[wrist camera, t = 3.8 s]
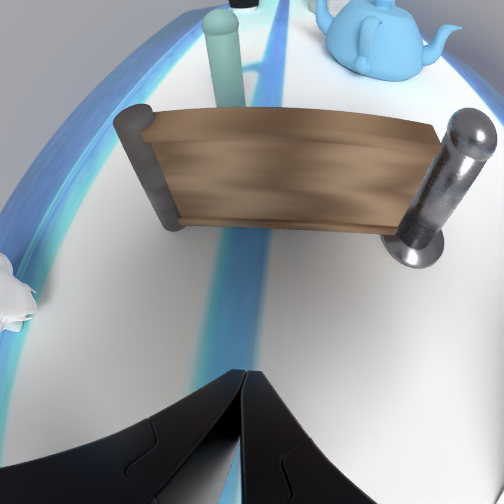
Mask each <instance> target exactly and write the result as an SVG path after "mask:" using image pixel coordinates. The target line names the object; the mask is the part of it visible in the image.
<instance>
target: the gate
mask: <svg viewBox="0 0 504 504" xmlns="http://www.w3.org/2000/svg"><path fill="white" fill-rule="evenodd" d="M113 126H114V128H115V130H116V132H117V135H118V137H119V139H120V141H121V143H122V145H123V147H124V149H125V152H126V154H127V156H128V158H129V160H130V162H131V164H132V166H133V168H134V170H135V172H136V174H137V176H138V178H139V180H140V182H141V184H142V186H143V188H144V190H145V192H146V194H147V196H148V198H149V200H150V202H151V204H152V206H153V208H154V210H155V212H156V214H157V216H158V218H159V220H160V221H161V223H162V225H163V227H164V228H165V229H166V230H168V231H178V230H181V229H183V228H184V227H185V226H186V225H187V226H220V227H248V228H273V229H295V230H315V231H334V232H352V233H368V234H384V235H395V234H396V232H397V230H398V225H399V223H400V222H401V220H402V218H403V216H404V215H405V213H406V211H407V209H408V207H409V206H410V204H411V202H412V200H413V198H414V196H415V194H416V193H417V191H418V189H419V187H420V185H421V183H422V181H423V179H424V177H425V175H426V173H427V171H428V169H429V167H430V165H431V163H432V161H433V159H434V157H435V156H436V157H437V156H438V154H439V152H440V150H441V148H442V145H441V143H440V141H439V139H438V136H437V134H436V132H435V130H434V128H433V126H432V125H429V124H425V123H419V122H414V121H409V120H403V119H397V118H391V117H384V116H377V115H370V114H362V113H353V112H343V111H333V110H320V109H305V108H283V107H222V108H200V109H185V110H172V111H162V112H153V111H152V108H151V106H149V105H147V104H136V105H133V106H130V107H128V108H126V109H124V110H123V111H121V112H120V113H119V114H118V115H117V116H116V117H115V118H114V121H113Z"/></svg>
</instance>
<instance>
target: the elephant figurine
mask: <svg viewBox="0 0 504 504" xmlns="http://www.w3.org/2000/svg"><path fill="white" fill-rule="evenodd" d="M30 291H33V292H35V291H34V290H33V289H32V288H30V287H29V286H28V285H27V284H26V283H22V282H21V281H19V280H18V279H16V278H15V276H14V275H13V268H12V264H11V262H10V260H9V259H8V258H7V257H6V256H5V255H4V254H2V253H0V332H1V331H4V330H5V329H7V330H9V331H13V332H19V331H21V329H22V327H23V321H26V320H29V319H31V318H33V317H30V318H26V316H27V315H28V314H35V313H36V311H37V304H36V302H35V300H34V298H33V296H32V294H31V292H30ZM35 293H36V292H35ZM37 294H38V293H37Z"/></svg>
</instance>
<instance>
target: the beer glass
mask: <svg viewBox="0 0 504 504" xmlns="http://www.w3.org/2000/svg"><path fill="white" fill-rule="evenodd" d="M496 504H504V490H503V492H502V493H501V495H500V496H499V498H498V500H497V502H496Z"/></svg>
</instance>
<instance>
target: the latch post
mask: <svg viewBox="0 0 504 504" xmlns="http://www.w3.org/2000/svg"><path fill="white" fill-rule="evenodd" d="M238 26H239V22H238V18H237V16H236V15H235V14H234V13H233V12H232V11H230V10H227V9H215V10H212V11H210V12H209V13H208V14H207V15H206V16H205V17H204V19H203V22H202V29H203V31H204V33H205V39H206V45H207V51H208V57H209V63H210V69H211V75H212V81H213V87H214V93H215V99H216V105H217V108H222V107H245V97H244V87H243V76H242V66H241V56H240V45H239V35H238Z"/></svg>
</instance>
